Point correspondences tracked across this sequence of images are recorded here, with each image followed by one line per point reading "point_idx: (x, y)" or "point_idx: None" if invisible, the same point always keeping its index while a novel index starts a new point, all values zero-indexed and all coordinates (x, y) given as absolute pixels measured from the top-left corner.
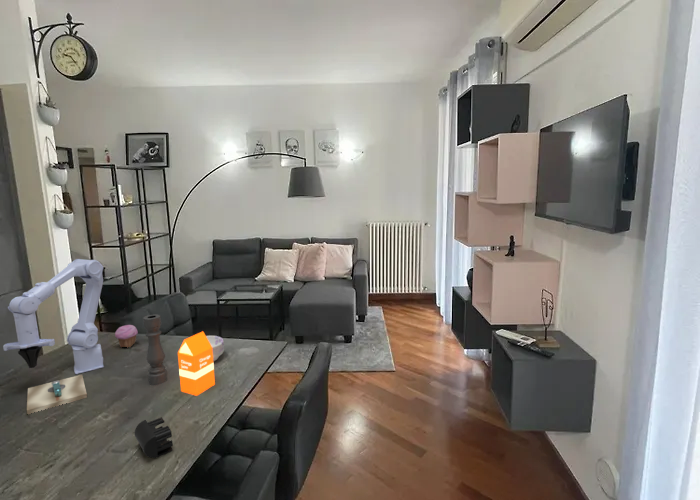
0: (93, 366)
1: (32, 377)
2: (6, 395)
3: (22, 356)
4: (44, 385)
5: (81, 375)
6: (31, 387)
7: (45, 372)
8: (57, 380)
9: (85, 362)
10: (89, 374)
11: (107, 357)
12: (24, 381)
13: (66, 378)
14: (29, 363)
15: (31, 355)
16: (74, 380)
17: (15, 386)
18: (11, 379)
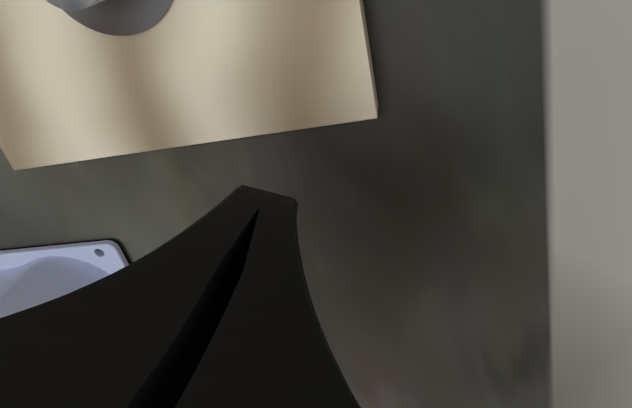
0: (11, 273)
1: (394, 336)
2: (541, 132)
3: (322, 365)
4: (246, 101)
5: (7, 151)
6: (349, 117)
7: None
8: (59, 4)
9: (11, 299)
10: (15, 193)
11: None
12: (435, 306)
13: (109, 154)
14: (259, 228)
15: (106, 312)
16: (16, 73)
17: (485, 260)
18: (517, 372)
